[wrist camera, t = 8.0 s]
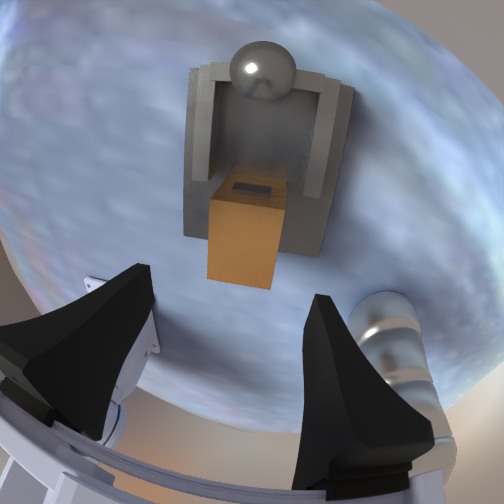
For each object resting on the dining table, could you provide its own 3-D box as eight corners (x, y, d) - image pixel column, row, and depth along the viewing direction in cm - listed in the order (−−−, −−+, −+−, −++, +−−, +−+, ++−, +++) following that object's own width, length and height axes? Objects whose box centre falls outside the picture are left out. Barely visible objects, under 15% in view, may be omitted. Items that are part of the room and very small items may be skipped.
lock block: (275, 245, 20) (270, 289, 15) (225, 237, 20) (207, 278, 15) (287, 176, 17) (285, 205, 13) (230, 168, 17) (210, 194, 13)
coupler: (317, 251, 20) (323, 303, 15) (187, 230, 21) (156, 275, 16) (353, 75, 13) (382, 65, 8) (195, 56, 14) (155, 42, 9)
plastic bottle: (421, 285, 21) (489, 510, 4) (391, 337, 24) (420, 530, 7) (357, 275, 21) (395, 551, 4) (333, 332, 24) (337, 549, 8)
